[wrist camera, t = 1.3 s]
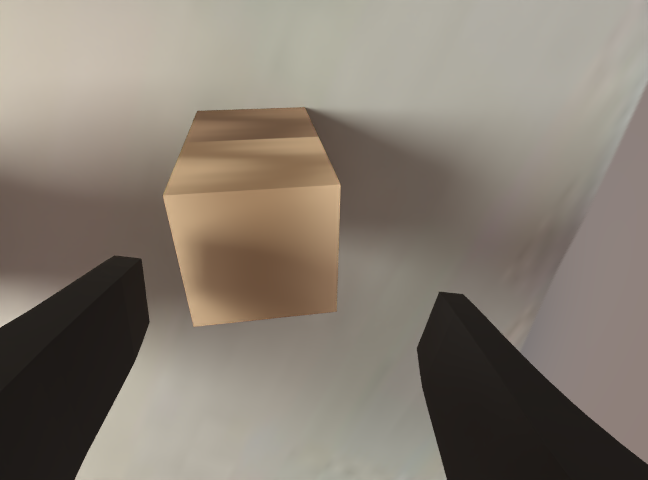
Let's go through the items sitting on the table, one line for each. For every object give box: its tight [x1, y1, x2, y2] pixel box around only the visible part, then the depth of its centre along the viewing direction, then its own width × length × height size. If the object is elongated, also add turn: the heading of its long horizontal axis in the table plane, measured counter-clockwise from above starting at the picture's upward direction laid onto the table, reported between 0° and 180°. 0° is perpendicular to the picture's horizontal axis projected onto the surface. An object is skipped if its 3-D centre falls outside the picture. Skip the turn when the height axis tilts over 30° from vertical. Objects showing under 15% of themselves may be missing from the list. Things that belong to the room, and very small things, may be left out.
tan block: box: [163, 107, 341, 327], centre depth 15 cm, size 4×4×8 cm
